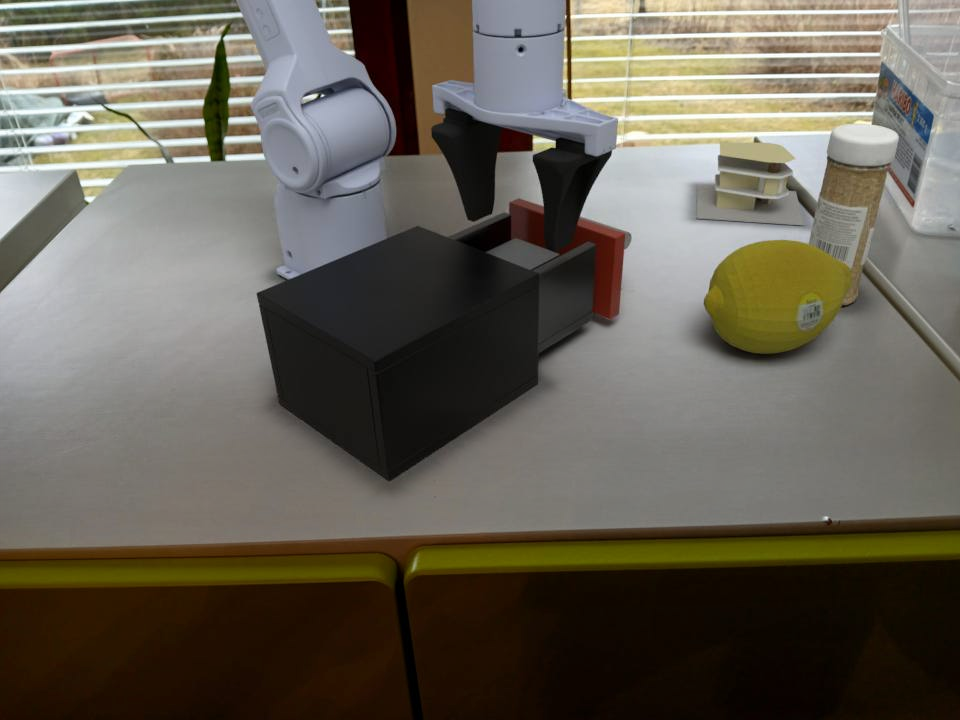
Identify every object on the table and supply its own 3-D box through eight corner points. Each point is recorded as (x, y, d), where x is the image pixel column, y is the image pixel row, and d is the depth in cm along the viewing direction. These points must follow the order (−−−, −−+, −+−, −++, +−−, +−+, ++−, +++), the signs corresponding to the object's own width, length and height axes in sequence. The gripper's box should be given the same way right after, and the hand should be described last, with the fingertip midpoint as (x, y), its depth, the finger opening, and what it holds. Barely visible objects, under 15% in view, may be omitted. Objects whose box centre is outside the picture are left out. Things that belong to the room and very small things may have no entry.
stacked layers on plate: (696, 218, 78) (703, 164, 75) (697, 185, 85) (704, 135, 82) (804, 225, 76) (815, 170, 73) (795, 191, 83) (806, 139, 80)
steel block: (476, 309, 60) (475, 256, 58) (515, 288, 63) (515, 237, 60) (520, 329, 57) (520, 274, 55) (558, 306, 60) (560, 253, 58)
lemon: (710, 377, 55) (727, 274, 51) (680, 321, 62) (692, 225, 57) (863, 368, 56) (892, 266, 51) (816, 313, 62) (839, 218, 58)
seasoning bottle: (868, 297, 64) (914, 132, 57) (832, 314, 62) (875, 144, 54) (820, 276, 67) (857, 117, 60) (784, 291, 65) (818, 129, 58)
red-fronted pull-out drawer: (550, 257, 70) (552, 183, 66) (650, 294, 63) (658, 215, 60) (408, 330, 60) (400, 248, 56) (510, 383, 54) (509, 295, 50)
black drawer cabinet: (425, 327, 62) (417, 224, 57) (538, 383, 55) (540, 273, 50) (278, 403, 54) (255, 292, 49) (389, 481, 47) (374, 361, 42)
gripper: (654, 32, 47) (635, 241, 55) (479, 6, 56) (483, 190, 63) (580, 53, 43) (570, 276, 51) (404, 22, 52) (418, 217, 59)
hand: (518, 230), depth 57 cm, fingers open, 7 cm apart
